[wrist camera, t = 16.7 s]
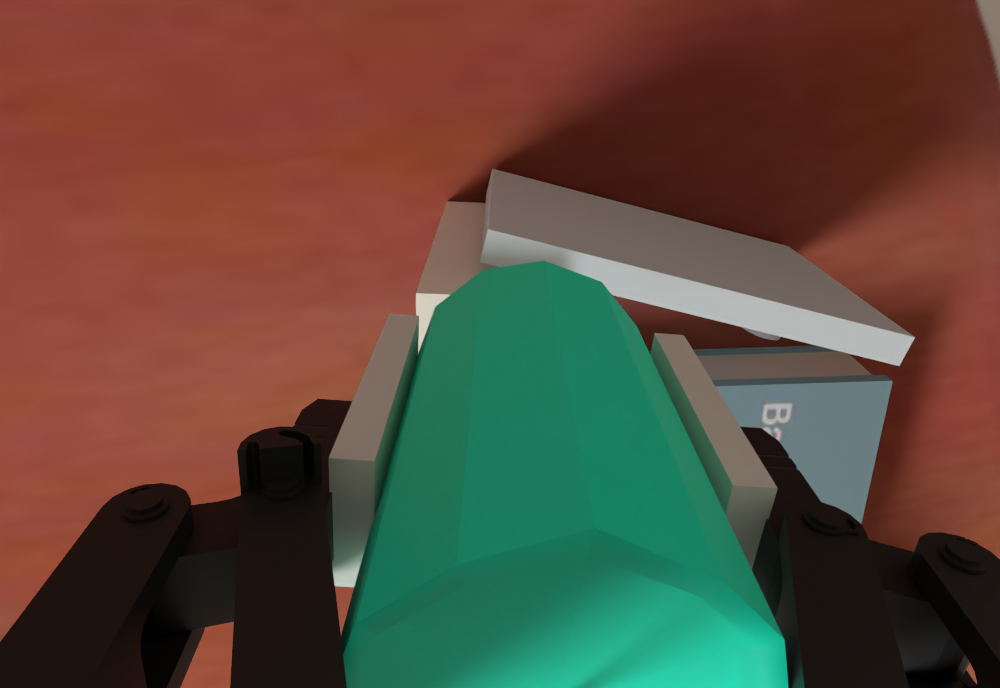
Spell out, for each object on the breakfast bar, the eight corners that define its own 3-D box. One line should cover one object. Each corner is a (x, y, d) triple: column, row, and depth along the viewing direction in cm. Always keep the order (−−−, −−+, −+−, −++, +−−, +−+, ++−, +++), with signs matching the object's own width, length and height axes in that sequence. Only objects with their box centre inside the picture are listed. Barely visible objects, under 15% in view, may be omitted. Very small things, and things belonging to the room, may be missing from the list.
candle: (621, 473, 19) (775, 1031, 8) (410, 454, 19) (288, 1003, 8) (663, 272, 17) (955, 690, 6) (422, 247, 17) (273, 636, 6)
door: (788, 246, 36) (915, 337, 25) (767, 295, 37) (879, 402, 26) (492, 168, 34) (487, 229, 23) (479, 221, 35) (469, 303, 24)
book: (846, 340, 39) (892, 380, 34) (805, 562, 45) (839, 621, 41) (449, 353, 39) (442, 394, 35) (465, 572, 46) (461, 631, 41)
